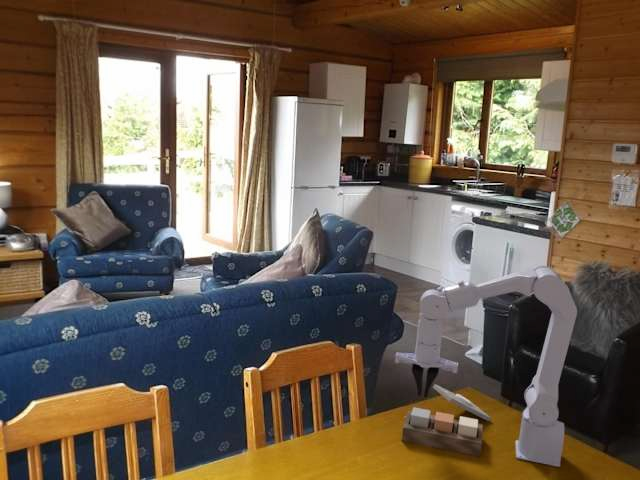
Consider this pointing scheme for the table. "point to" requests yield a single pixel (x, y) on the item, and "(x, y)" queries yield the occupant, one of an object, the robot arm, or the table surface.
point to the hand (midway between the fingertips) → (422, 394)
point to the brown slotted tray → (442, 437)
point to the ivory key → (468, 426)
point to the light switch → (461, 402)
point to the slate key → (420, 417)
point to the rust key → (443, 422)
